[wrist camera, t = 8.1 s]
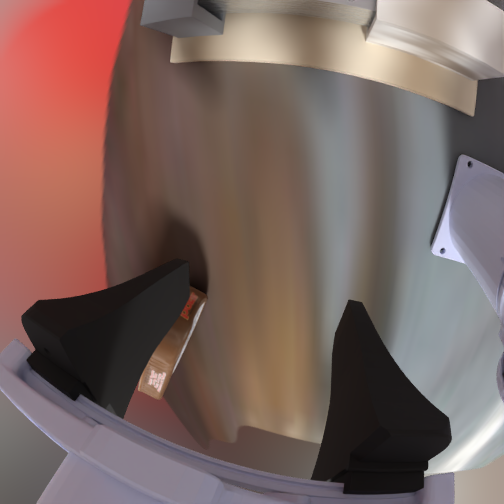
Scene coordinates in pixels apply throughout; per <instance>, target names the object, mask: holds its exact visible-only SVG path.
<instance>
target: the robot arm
mask: <svg viewBox="0 0 504 504" xmlns="http://www.w3.org/2000/svg"><path fill="white" fill-rule="evenodd" d="M469 161H470V162H471V165H470V166H469V167H468V162H469ZM442 248H444V250H443V251H442V252H440V249H442ZM431 251H432V253H433V254H434V255H437V256H441V257H444V258H448V259H451V260H455V261H458V262H462V263H465V264H466V265H467V266H468V268H469V269H470V271H471V272H472V274H473V275H474V277H475V278H476V280H477V281H478V283H479V284H480V286H481V287H482V289H483V291H484V292H485V294H486V296H487V297H488V299H489V301H490V302H491V304H492V306H493V308H494V309H495V311H496V313H497V315H498V317H499V318H500V321H501V329H500V332H499V337H500V339H501V341H502V343H503V346H504V173H502V172H500V171H498V170H496V169H494V168H492V167H490V166H488V165H486V164H484V163H482V162H480V161H478V160H475V159H473V158H471V157H469V156H467V155H463V154H462V155H460V156H459V158H458V161H457V165H456V169H455V173H454V177H453V181H452V185H451V188H450V192H449V195H448V198H447V202H446V205H445V208H444V211H443V214H442V217H441V220H440V223H439V226H438V229H437V232H436V235H435V237H434V240H433V243H432V245H431ZM189 298H190V285H189V262H188V261H185V260H181V259H175V260H172V261H170V262H168V263H166V264H164V265H162V266H159V267H157V268H155V269H153V270H151V271H149V272H147V273H145V274H143V275H140V276H138V277H136V278H133V279H131V280H129V281H126V282H124V283H122V284H119V285H116V286H114V287H111V288H107V289H104V290H101V291H98V292H94V293H89V294H85V295H81V296H75V297H70V298H62V299H49V300H38V301H37V302H36V303H35V304H34V305H33V306H32V307H30V308H29V309H28V310H27V311H26V312H25V313H24V314H23V315H22V324H23V327H24V329H25V331H26V333H27V335H28V337H29V338H30V340H31V342H32V344H33V346H34V347H35V349H36V350H35V351H34V352H33V353H31V352H30V350H29V349H28V348H27V347H25V346H24V345H23V344H22V343H21V342H20V341H19V340H18V339H14V340H13V341H12V342H11V343H10V344H9V345H8V346H7V347H6V348H5V349H4V350H3V351H2V352H1V353H0V389H1V390H2V391H3V393H4V394H5V395H6V396H7V397H8V398H9V399H10V401H11V402H12V403H13V404H14V405H15V406H16V407H17V408H18V409H19V410H20V411H21V412H22V413H23V414H24V415H25V416H26V417H27V418H28V419H29V420H30V421H31V422H33V423H34V424H35V425H36V426H37V427H38V428H39V429H40V430H41V431H42V432H44V433H45V434H46V435H47V436H48V437H49V438H51V439H52V440H53V441H54V442H56V443H57V444H58V445H59V446H60V447H62V448H63V449H64V450H66V451H67V452H68V455H67V456H66V458H65V460H64V461H63V462H62V464H61V466H60V467H59V469H58V470H57V472H56V473H55V475H54V476H53V478H52V479H51V481H50V483H49V484H48V486H47V487H46V489H45V490H44V492H43V494H42V495H41V497H40V498H39V500H38V502H37V503H36V504H454V473H453V472H451V473H445V474H438V475H431V476H427V477H424V471H426V470H427V469H428V460H430V459H431V458H433V457H435V456H436V455H438V454H439V453H440V452H442V451H443V450H444V449H446V448H447V447H448V445H449V444H450V443H451V440H452V436H451V428H450V421H449V417H447V416H446V415H445V414H444V413H442V412H441V411H440V410H439V409H438V408H436V407H435V406H434V405H433V404H432V403H431V402H430V401H428V400H427V399H426V398H425V397H424V396H423V395H422V394H421V393H420V392H419V391H418V389H417V388H416V387H415V386H414V385H413V384H412V383H411V382H410V380H409V379H408V378H407V377H406V376H405V374H404V373H403V372H402V371H401V369H400V368H399V366H398V365H397V364H396V362H395V361H394V359H393V358H392V356H391V355H390V353H389V352H388V350H387V348H386V347H385V345H384V344H383V342H382V340H381V338H380V336H379V334H378V333H377V331H376V329H375V327H374V325H373V323H372V321H371V319H370V317H369V315H368V313H367V311H366V309H365V307H364V305H363V303H362V302H358V301H354V300H348V303H347V305H346V308H345V310H344V313H343V315H342V318H341V320H340V323H339V325H338V328H337V330H336V332H335V338H334V344H333V352H332V376H331V397H330V405H329V411H328V416H327V421H326V426H325V431H324V435H323V439H322V443H321V447H320V451H319V455H318V458H317V462H316V465H315V468H314V471H313V474H312V477H311V480H307V479H301V478H294V477H288V476H283V475H278V474H273V473H268V472H263V471H259V470H255V469H250V468H247V467H243V466H239V465H236V464H232V463H228V462H225V461H222V460H218V459H216V458H212V457H209V456H206V455H203V454H201V453H198V452H195V451H192V450H190V449H187V448H184V447H182V446H179V445H177V444H174V443H172V442H169V441H167V440H165V439H163V438H160V437H158V436H156V435H154V434H152V433H149V432H147V431H145V430H143V429H141V428H139V427H137V426H135V425H133V424H131V423H129V422H127V421H125V420H123V418H124V415H125V412H126V410H127V407H128V404H129V402H130V399H131V397H132V395H133V393H134V390H135V388H136V386H137V383H138V381H139V379H140V377H141V375H142V373H143V371H144V369H145V367H146V365H147V364H148V362H149V360H150V358H151V356H152V354H153V353H154V351H155V350H156V348H157V347H158V345H159V344H160V342H161V341H162V340H163V338H164V337H165V335H166V334H167V333H168V331H169V330H170V329H171V327H172V326H173V324H174V323H175V322H176V320H177V319H178V317H179V316H180V315H181V313H182V311H183V309H184V307H185V306H186V304H187V302H188V300H189ZM497 385H498V390H499V393H500V396H501V398H502V401H503V403H504V352H503V354H502V356H501V358H500V360H499V363H498V367H497ZM227 483H228V484H227ZM230 484H231V485H230ZM233 485H235V486H233ZM236 486H239V487H242V488H246V489H251V490H255V491H259V492H264V493H263V495H262V494H259V493H255V492H252V491H249V490H245V489H242V488H239V487H236Z"/></svg>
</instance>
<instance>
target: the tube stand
mask: <svg viewBox="0 0 504 504" xmlns="http://www.w3.org/2000/svg"><path fill="white" fill-rule="evenodd" d="M198 61H246V62H264V63H276V64H286V65H295V66H303V67H310V68H316V69H322V70H328V71H333V72H339V73H343V74H348V75H353V76H357V77H361V78H365V79H369V80H373V81H377V82H381V83H384V84H388V85H391V86H394V87H398V88H401V89H404V90H407V91H410V92H413V93H416V94H419V95H421V96H424V97H427V98H429V99H432V100H435V101H437V102H440V103H442V104H444V105H447V106H449V107H451V108H454V109H456V110H458V111H460V112H463V113H465V114H467V115H469V116H474V112H475V104H476V94H477V83H478V80H482V79H490V78H498V77H504V11H503V10H501V9H500V8H498V7H496V6H495V5H493V4H492V3H490V2H488V1H487V0H376V15H375V17H374V19H373V22H372V24H371V26H370V27H367V26H363V25H358V24H354V23H349V22H344V21H338V20H332V19H326V18H319V17H311V16H302V15H292V14H276V13H226V16H225V23H224V31H223V35H209V36H195V37H184V38H177V37H174V36H173V42H172V50H171V58H170V62H172V63H180V62H198Z"/></svg>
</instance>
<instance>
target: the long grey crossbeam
mask: <svg viewBox="0 0 504 504" xmlns="http://www.w3.org/2000/svg"><path fill="white" fill-rule="evenodd" d="M197 5H199V6H201V7H202V8H204V9H205V10H207V11H208V12H209V13H211V14H226V13H276V14H292V15H302V16H311V17H319V18H326V19H332V20H338V21H344V22H349V23H354V24H358V25H363V26H367V27H370V26H371V24H372V22H373V19H374V17H375V15H376V0H198V2H197Z"/></svg>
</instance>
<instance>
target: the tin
mask: <svg viewBox="0 0 504 504" xmlns="http://www.w3.org/2000/svg"><path fill="white" fill-rule="evenodd" d="M207 299H208V297H207V295H206V294H204V293H203V292H201V291H199V290H197V289H195V288H193V287H191V286H190V298H189V300H188V302H187V304H186V306H185V307H184V309H183V311H182V313H181V315H180V316H179V317H178V319H177V320H176V322H175V323H174V324H173V326H172V327H171V329H170V330H169V331H168V333H167V334H166V335H165V337H164V338H163V340H162V341H161V342H160V344H159V345H158V347H157V348H156V350H155V351H154V353H153V354H152V356H151V358H150V360H149V362H148V364H147V365H146V367H145V369H144V371H143V373H142V375H141V377H140V381H139V386H138V390H139V391H142V392H144V393H146V394H148V395H150V396H152V397H153V398H156V399H161V398H162V396H163V394H164V391H165V389H166V387H167V384H168V382H169V380H170V377H171V375H172V373H173V372H174V371H175V369H176V367H177V365H178V363H179V361H180V359H181V356H182V354H183V352H184V350H185V348H186V346H187V344H188V341H189V339H190V337H191V335H192V333H193V331H194V329H195V327H196V325H197V323H198V320H199V318H200V316H201V313H202V311H203V309H204V306H205V304H206V302H207Z"/></svg>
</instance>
